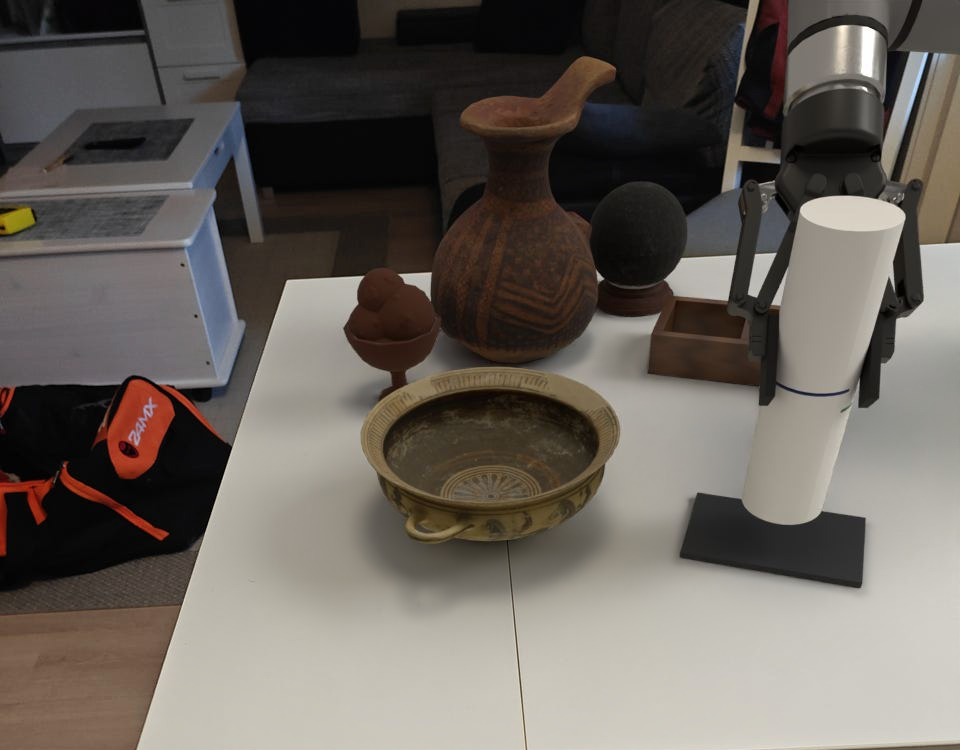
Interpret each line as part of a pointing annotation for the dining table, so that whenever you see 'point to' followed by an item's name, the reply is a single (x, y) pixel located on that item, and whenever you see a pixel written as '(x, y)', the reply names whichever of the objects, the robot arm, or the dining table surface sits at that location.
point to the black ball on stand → (637, 247)
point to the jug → (520, 232)
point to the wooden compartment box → (702, 342)
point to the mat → (776, 542)
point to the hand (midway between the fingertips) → (817, 401)
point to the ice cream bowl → (392, 325)
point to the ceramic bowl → (489, 451)
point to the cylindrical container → (820, 351)
